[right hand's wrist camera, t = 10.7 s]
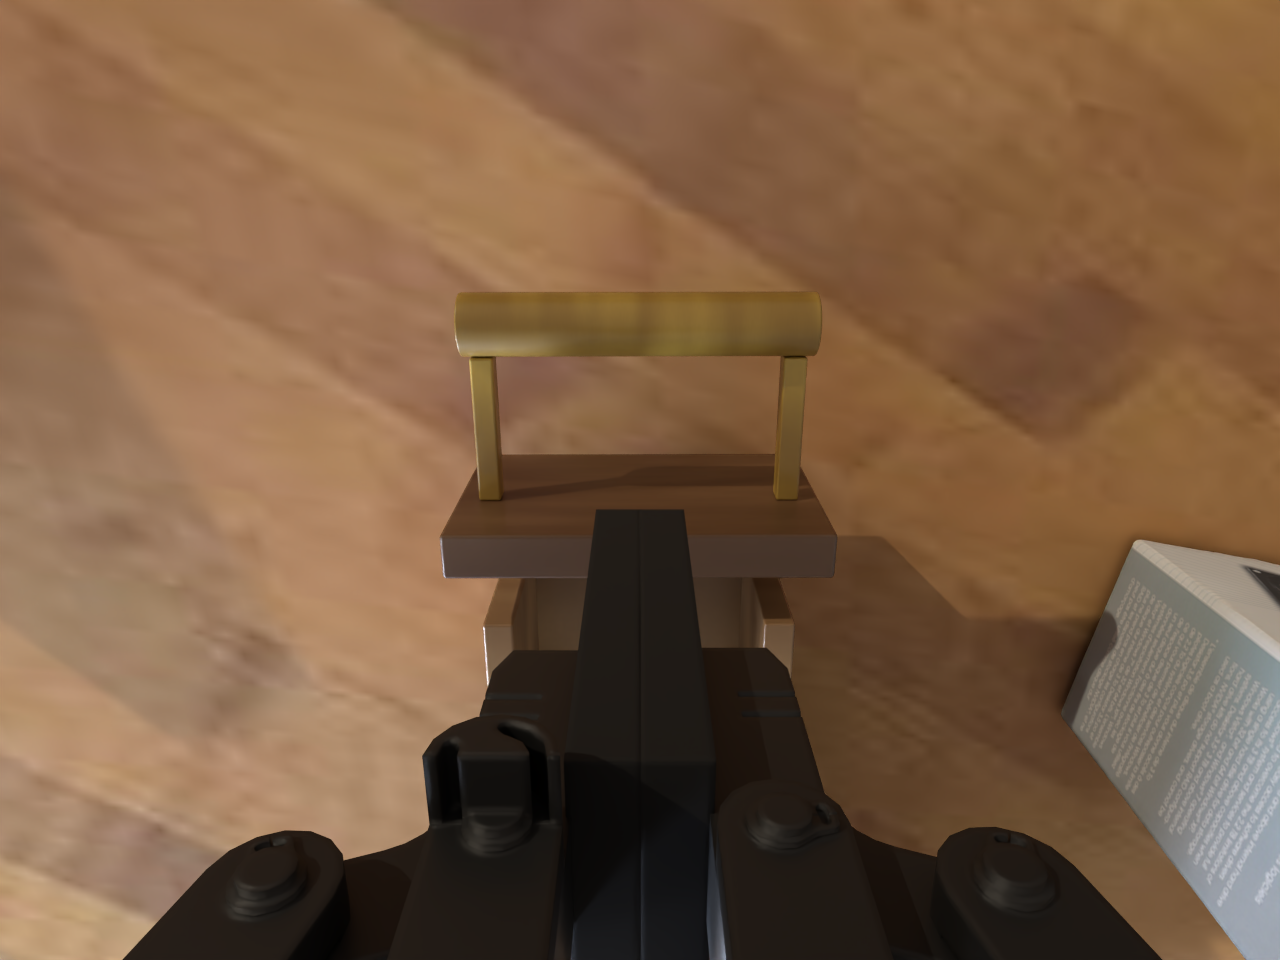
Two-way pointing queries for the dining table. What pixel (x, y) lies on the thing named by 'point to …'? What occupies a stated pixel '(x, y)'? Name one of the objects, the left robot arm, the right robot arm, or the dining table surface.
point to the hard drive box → (1195, 723)
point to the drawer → (637, 470)
